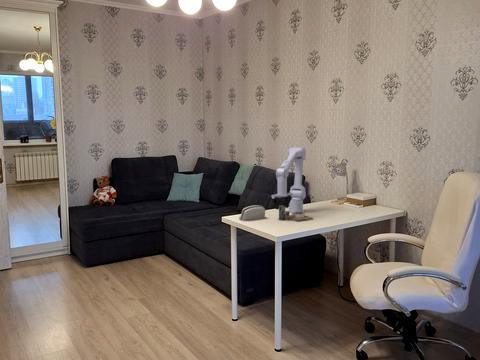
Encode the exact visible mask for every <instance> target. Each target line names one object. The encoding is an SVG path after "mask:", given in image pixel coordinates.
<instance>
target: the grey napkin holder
mask: <svg viewBox="0 0 480 360" xmlns="http://www.w3.org/2000/svg"><path fill="white" fill-rule="evenodd" d="M265 215H266V209H265V207H264V206H263V205H258V204H257V205H249V206H246V207H244V208H242V211H241V214H240V216H239V219H240V220H241V221H242V222H245V221H244V220H246V221H253V220H258V219H265V218H266V216H265ZM239 219H238V220H239ZM252 219H253V220H252Z"/></svg>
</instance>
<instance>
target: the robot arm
mask: <svg viewBox="0 0 480 360" xmlns="http://www.w3.org/2000/svg"><path fill="white" fill-rule="evenodd" d="M306 153H307V152H306V148H305V147H293V146H292V147H289V149H288V156H287V159H286V160H283V162H282V164H281V165H280V167H277V169H276V172H275V176H276V181H277V193H276V194H275V193H274V194H271V200H272V201H273V204H274V208H275V210H278V211H279V206H280V205H279V204H280V200H281V199H280V198H284V202H285V203H284V206H285V209H289V210H288V212H289V213H293V212H304V213H306V211H304V200H305V198H306V193H307V192H306V187H304V186H303V184H302V183H303V169H304V168H303V167H304V161H305V160H306V155H307V154H306ZM293 161H295V167H294V168H295V169H294V182H293V185H292V186H290V190H289V192H287V191H288V190H287V189H288V187H287V186H288V177H289V174H290V173H289V172H290V169H291V168H292V163H293Z"/></svg>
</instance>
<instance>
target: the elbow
mask: <svg viewBox="0 0 480 360" xmlns="http://www.w3.org/2000/svg"><path fill="white" fill-rule="evenodd" d="M290 213H291V212H289V210H288V211H287V210H286V207H285V205H279V209H278V220H279V221H285V220H286V218H285V216H289V215H291V214H290Z"/></svg>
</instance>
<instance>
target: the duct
mask: <svg viewBox="0 0 480 360" xmlns="http://www.w3.org/2000/svg"><path fill="white" fill-rule="evenodd" d="M291 213H292V214H289V216H285V219H287V220H290V221H293V222H298V223H300V222H306V221H312V220H314V217H312V216H307V215H306V212H291Z"/></svg>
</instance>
